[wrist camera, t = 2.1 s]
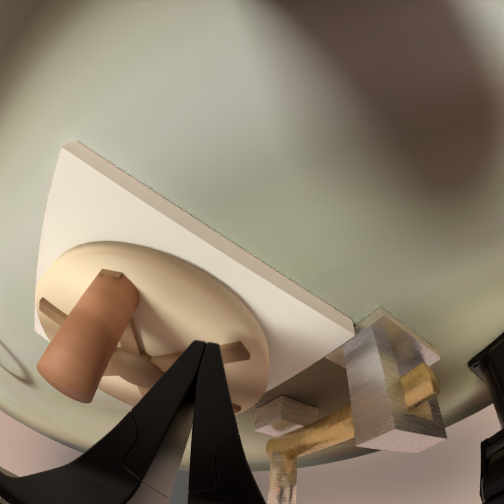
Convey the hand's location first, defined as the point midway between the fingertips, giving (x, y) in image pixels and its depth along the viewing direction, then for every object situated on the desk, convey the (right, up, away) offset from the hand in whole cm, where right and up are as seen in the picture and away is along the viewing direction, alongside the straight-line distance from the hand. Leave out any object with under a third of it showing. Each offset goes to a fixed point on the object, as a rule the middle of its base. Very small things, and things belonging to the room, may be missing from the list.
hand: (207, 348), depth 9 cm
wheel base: (-4, -1, +6) cm, 7 cm away
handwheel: (-4, -2, +5) cm, 7 cm away
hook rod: (+7, -6, +6) cm, 11 cm away
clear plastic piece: (+7, -5, +8) cm, 12 cm away
